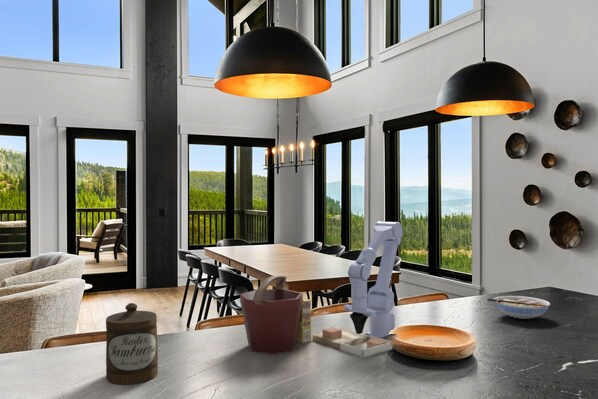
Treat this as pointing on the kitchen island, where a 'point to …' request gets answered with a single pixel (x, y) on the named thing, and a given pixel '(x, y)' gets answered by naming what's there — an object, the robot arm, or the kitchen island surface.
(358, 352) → the tray
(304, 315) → the candy box
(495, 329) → the kitchen island surface
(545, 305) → the ramen bowl
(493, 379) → the kitchen island surface
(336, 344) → the board
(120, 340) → the wooden container
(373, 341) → the tile near
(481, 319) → the kitchen island surface
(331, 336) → the tile far
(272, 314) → the bucket
